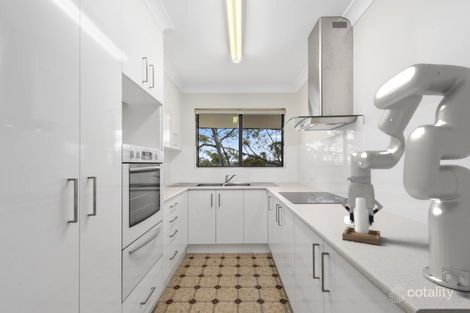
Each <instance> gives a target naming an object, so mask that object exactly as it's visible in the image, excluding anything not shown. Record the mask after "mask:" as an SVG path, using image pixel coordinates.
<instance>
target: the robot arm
mask: <svg viewBox="0 0 470 313" xmlns="http://www.w3.org/2000/svg"><path fill="white" fill-rule="evenodd" d="M423 96H437V97H439V96H441V97H442V99H441V100H440V102H439V103H438V105H437V107H436V109H435V116H434V118H435V119H434V124H432V123H431V124H423V125H419V126H417V127H415V128H414V129H413V130H412V131H411V132H410V133H409V134H408V136H407V138H405V135H404V132H405V130H406V129H407V127H408V125H409V123H410V121H411V119H412V118H413V116H414V115H415V113H416V111H417V109H418V107H419V105H420V103H421V102H422V100H423ZM373 105H374V106H375V108H377V109H379V110H384V111H383V113H382V115H381V117H380V119H379V121H378V122H377V128H378V129H379V131H380V132H382V133H383V134H386V135H387V136H390V141H389V143H388V146H387V147H386V149H385V150H384V149H383V150H378V149H377V150H362V151H354V152H352V153H351V154H350V176H349V177H347V178H346V179H347V181H348V182H350V183H348V188H347V198H346V199H345V200H344V201H342V202H341V205H342V207H343V208H344V209H345V211H347V212H348V213H349V216H350V220H351V223H353V222H354V215H353V208H355V207H356V198H365V200H366V201H365V204H366V208H367V209H369V212H370V215H369V226H372V225H373V224H374V222H375V220H374V218H375V217H374V216H375V214H377V213H378V212H379V211H380V210H382V209H383V208H384V206H383V205H382V204H381V203H380V202H379V201H378V200H376V197H375V196H376V194H375V188H374V184H373V183H372V170H390V169H393V168H394V167H396V165H397V164H398V163H399V162H400V160H401V158H402V157H404V158H403V172H402V183H403V184H402V185H403V188H404V190H405V192H406V193H407V194H408V195H409V196H410V197H411V198H413V199H415V200H419V201H431V203H430V204H429V207H428V208H429V209H428V212H427V213H428V215H427V218H428V220H427V227H428V265H427V266H424V267H422V269H421V271H422V275H423V276H424V277H425V278H426V279H428V280H429V281H430V282H432V283H435V284H438V285H441V286H442V287H446V288H449V289H452V290H453V289H454V290H458V291H464V292H470V168H467V167H465V166H464V165H463V166H462V165H459V164H441V161H454V160H455V161H456V160H457V161H458V160H463V159H466V158H469V156H470V67H468V66H461V65H455V64H439V63H436V64H435V63H425V62H424V63H421V62H420V63H415V64H411V65H409V66H407V67H405V68H404V69H403V70H401V71H400V72H398V73H396V74H395V75H394V76H392V77H390V78H389V79H387V80H386V81H385V82H384V83H382V84H381V86H380V87H378V89H377V90H376V92H375V93H374V97H373ZM403 155H404V156H403ZM375 206H377V207H376V208H375Z"/></svg>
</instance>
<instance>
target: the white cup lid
mask: <svg viewBox="0 0 470 313" xmlns="http://www.w3.org/2000/svg"><path fill="white" fill-rule="evenodd" d="M344 224H345V225H348V226H350V227H355V225H354V222H353V223H351V220H350V215H346V216H344Z"/></svg>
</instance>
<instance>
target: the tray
mask: <svg viewBox="0 0 470 313" xmlns="http://www.w3.org/2000/svg"><path fill="white" fill-rule="evenodd" d="M341 237H342V241H346V240H347V241H346V242H352V241H353V243H358V242H359V243H358V244H365V245H372V246H378V247H379V246H380V240H381V231H380V230H375V229H369V233H368V234H359V233H356V232H355V227H354V226H346V228H345V229H344V231H343V232H342V236H341Z"/></svg>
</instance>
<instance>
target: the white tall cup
mask: <svg viewBox="0 0 470 313" xmlns="http://www.w3.org/2000/svg"><path fill="white" fill-rule="evenodd" d="M365 201H366V200H365V198H356V207H355V208H353V215H354V225H355V226H354V228H355V232H356V233H359V234H368V233H369V230H370V224H369V215H370V212H369V209H367V208H366V204H365Z"/></svg>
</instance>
